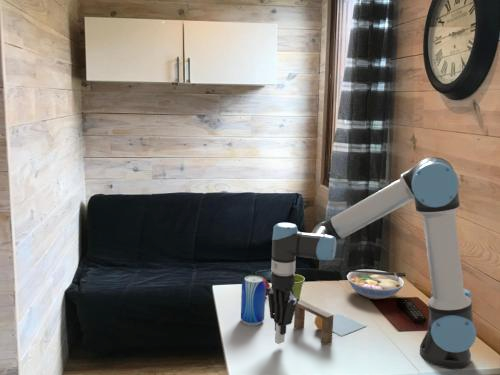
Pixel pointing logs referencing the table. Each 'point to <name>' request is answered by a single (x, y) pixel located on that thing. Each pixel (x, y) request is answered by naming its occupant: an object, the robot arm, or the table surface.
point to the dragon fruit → (266, 286)
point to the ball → (318, 322)
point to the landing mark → (345, 325)
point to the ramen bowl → (375, 283)
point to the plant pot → (298, 285)
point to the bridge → (326, 317)
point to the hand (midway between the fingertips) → (279, 342)
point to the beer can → (253, 300)
